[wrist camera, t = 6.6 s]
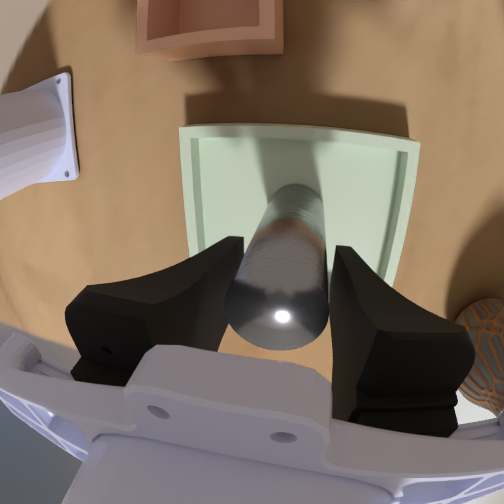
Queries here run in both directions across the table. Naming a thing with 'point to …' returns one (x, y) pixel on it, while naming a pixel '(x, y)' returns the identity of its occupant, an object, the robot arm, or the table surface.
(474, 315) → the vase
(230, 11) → the salmon open box
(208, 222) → the tray
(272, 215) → the dowel
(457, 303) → the table surface
